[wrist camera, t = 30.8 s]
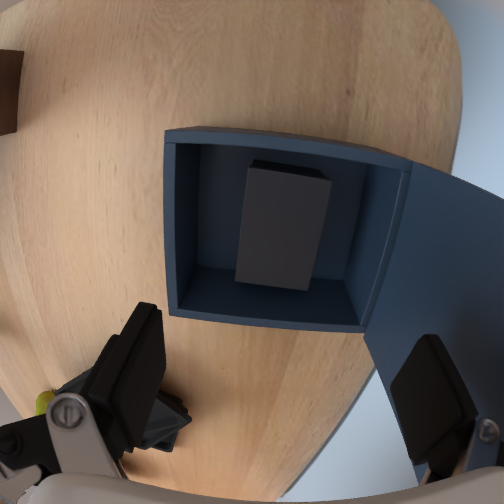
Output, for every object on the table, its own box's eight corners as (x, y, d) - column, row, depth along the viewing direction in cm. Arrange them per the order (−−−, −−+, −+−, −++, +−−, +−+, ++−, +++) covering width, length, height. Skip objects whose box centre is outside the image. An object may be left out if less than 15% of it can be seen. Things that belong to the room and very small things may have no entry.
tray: (197, 450, 47) (192, 472, 42) (90, 421, 47) (81, 439, 42) (196, 349, 34) (187, 381, 29) (44, 310, 34) (25, 332, 29)
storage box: (191, 268, 29) (168, 315, 22) (195, 126, 23) (164, 130, 16) (346, 283, 29) (365, 333, 22) (375, 147, 23) (415, 161, 16)
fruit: (40, 385, 43) (15, 426, 33) (53, 384, 42) (27, 429, 31) (58, 403, 46) (36, 444, 35) (72, 403, 44) (49, 448, 33)
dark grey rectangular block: (252, 157, 23) (248, 167, 19) (320, 168, 23) (333, 180, 19) (240, 253, 27) (234, 281, 23) (301, 261, 27) (307, 291, 23)
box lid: (431, 535, 6) (495, 500, 7) (655, 317, 1) (658, 305, 1) (362, 337, 21) (415, 335, 22) (413, 161, 15) (469, 177, 16)
